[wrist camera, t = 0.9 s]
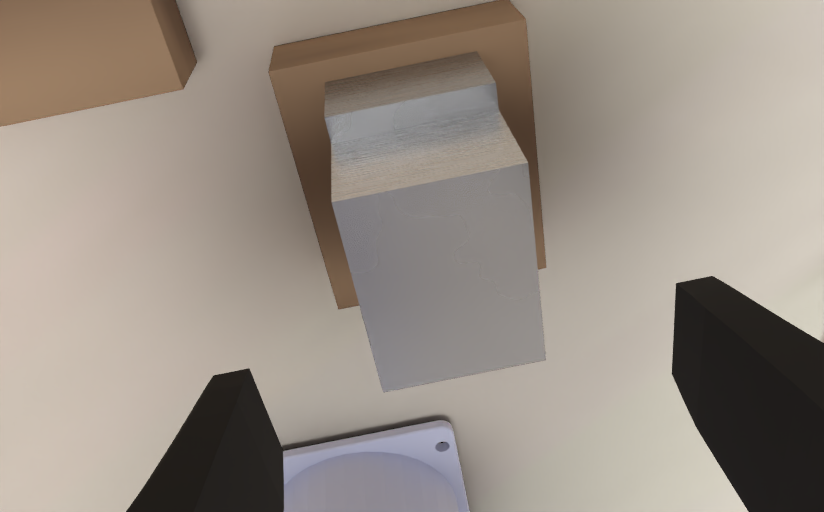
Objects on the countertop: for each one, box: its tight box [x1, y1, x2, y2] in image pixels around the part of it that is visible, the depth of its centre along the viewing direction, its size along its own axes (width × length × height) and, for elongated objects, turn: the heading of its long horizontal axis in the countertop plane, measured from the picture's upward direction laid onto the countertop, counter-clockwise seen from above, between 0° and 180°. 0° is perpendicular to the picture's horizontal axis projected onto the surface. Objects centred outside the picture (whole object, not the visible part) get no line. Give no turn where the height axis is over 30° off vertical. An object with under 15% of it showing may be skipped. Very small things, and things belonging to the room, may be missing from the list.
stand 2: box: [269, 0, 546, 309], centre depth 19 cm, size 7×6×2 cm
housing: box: [324, 51, 546, 392], centre depth 16 cm, size 6×4×5 cm, turn 10°
